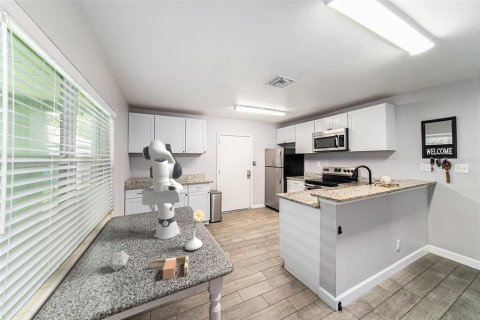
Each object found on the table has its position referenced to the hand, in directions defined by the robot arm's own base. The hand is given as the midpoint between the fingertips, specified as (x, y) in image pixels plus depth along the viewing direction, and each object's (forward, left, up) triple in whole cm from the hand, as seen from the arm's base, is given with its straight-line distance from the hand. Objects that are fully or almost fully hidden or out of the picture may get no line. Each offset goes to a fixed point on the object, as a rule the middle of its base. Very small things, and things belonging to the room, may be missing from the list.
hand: (162, 211), depth 102 cm
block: (+12, +5, -29) cm, 32 cm away
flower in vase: (-11, +17, -29) cm, 36 cm away
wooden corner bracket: (+10, +4, -29) cm, 31 cm away
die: (0, -23, -29) cm, 37 cm away
